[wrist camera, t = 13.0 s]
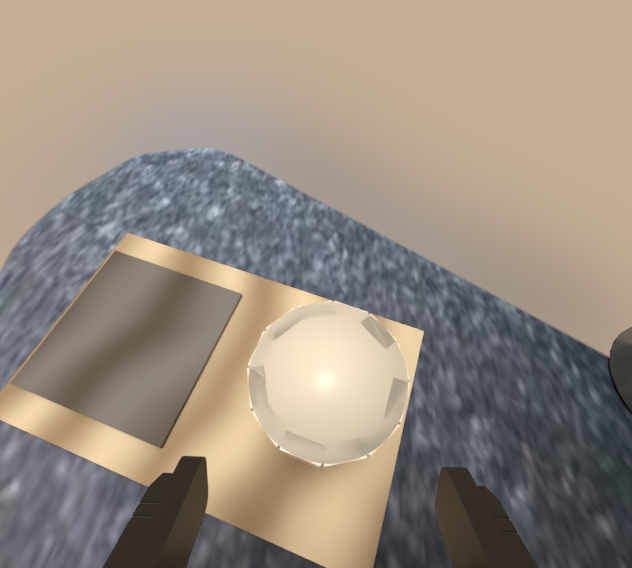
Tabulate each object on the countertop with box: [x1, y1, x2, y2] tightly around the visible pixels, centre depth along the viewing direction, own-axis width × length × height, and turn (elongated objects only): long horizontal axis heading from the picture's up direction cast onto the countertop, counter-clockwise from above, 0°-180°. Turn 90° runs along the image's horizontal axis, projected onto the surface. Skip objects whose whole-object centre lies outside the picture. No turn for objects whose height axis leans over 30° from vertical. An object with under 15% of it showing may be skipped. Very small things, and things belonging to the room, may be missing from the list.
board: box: [0, 233, 424, 568], centre depth 23 cm, size 25×15×2 cm, turn 70°
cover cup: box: [247, 301, 410, 468], centre depth 18 cm, size 6×6×9 cm
